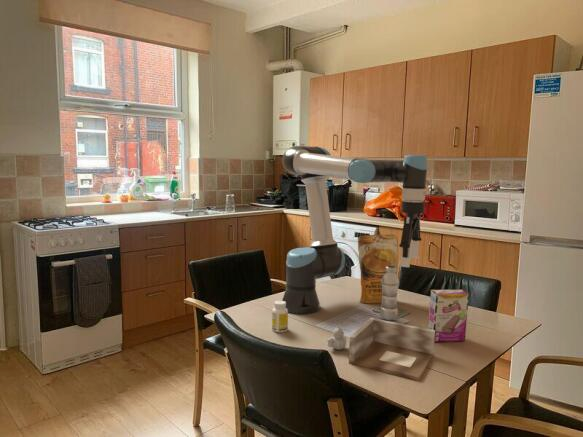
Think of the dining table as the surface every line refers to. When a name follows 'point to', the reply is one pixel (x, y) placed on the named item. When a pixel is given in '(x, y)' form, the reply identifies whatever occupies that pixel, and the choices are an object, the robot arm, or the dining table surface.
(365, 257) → the pancake mix bag
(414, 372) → the arena
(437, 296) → the candy bar box
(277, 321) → the supplement bottle
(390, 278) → the plastic bottle
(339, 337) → the white lumpy figure
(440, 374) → the dining table surface
